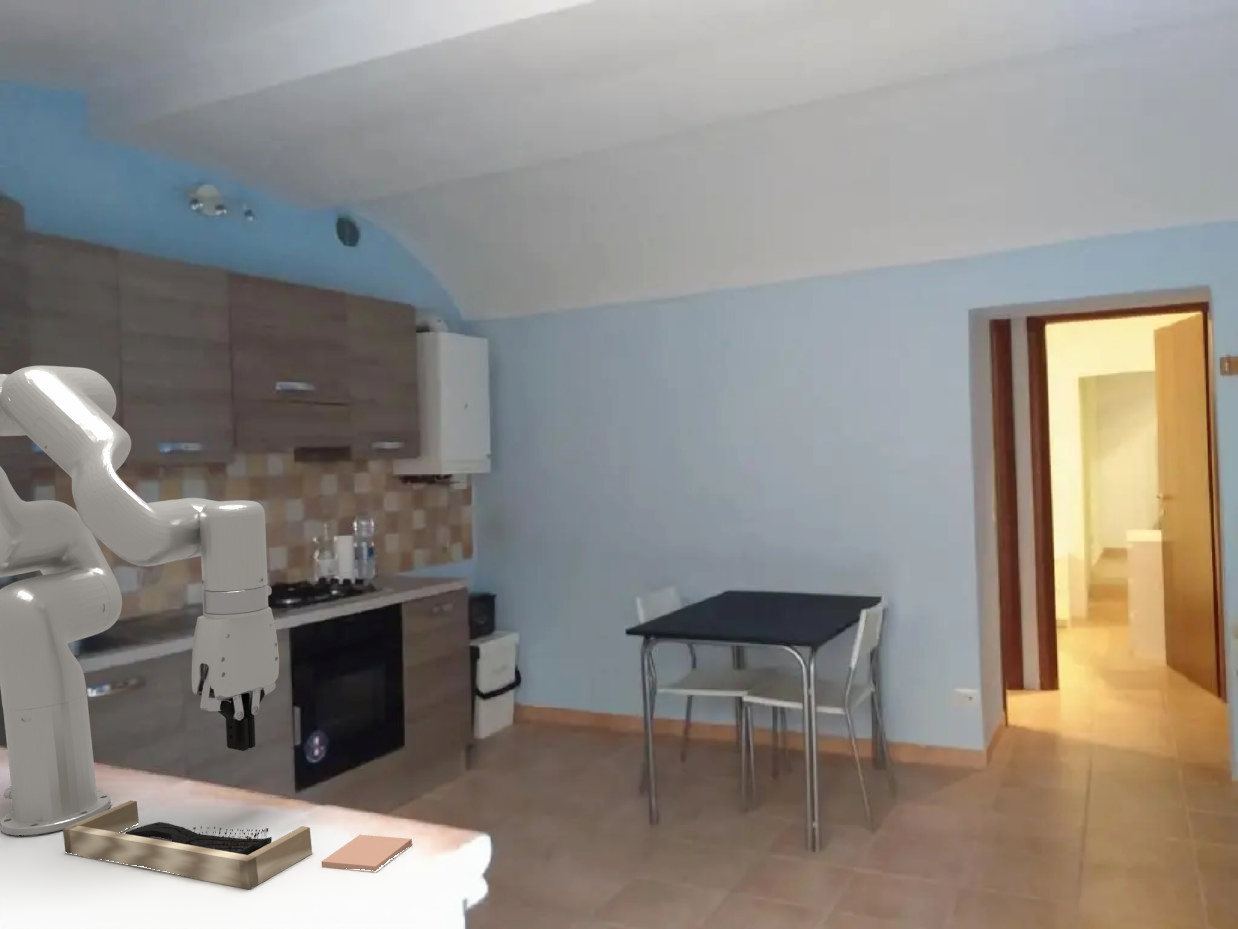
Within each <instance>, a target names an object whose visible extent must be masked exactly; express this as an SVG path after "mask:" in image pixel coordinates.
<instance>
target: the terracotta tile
mask: <svg viewBox="0 0 1238 929" xmlns="http://www.w3.org/2000/svg"><path fill="white" fill-rule="evenodd" d="M412 845H413V840H412V838H407V837H393V836H383V835H382V836H381V835H370V834H368V835H367V834H359V835H357V836H356V837H354V838H353V839H352V840H350V841H349V842H347V843H346V844H344V845H343V846H341V847H340V848H338V849H337V850H336V851H334V852H333V853H332V854H330V855H328V856H327V857H325V858H324V859H323V860H322V861H321V868H325V867H327V868H326V869H336V870H345V869H346V868H347V869H360V870H361V869H365V870H371V871H372V870H373V871H376V870H377V869H379V867H381V865H384V864H385V863H386V862H387V861H388V860H389V859H391V858H393V857H394V856H395V855H397V854H398V853H400V852H402V851H403V850H405V849H406V848H408V847H409V846H410V847H412ZM410 847H409V848H410ZM409 848H408V849H409ZM406 850H407V849H406ZM406 850H405V851H406ZM402 853H403V852H402Z"/></svg>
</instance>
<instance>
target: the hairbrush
mask: <svg viewBox="0 0 1238 929" xmlns="http://www.w3.org/2000/svg"><path fill="white" fill-rule="evenodd" d="M202 827H203V826H200V829H201V830H200V832H198V833H197V832H196V829H197V827H196V826H195V827H193V829H192V830H190V829H188V828H186V827H183V826H180V825H177V824H171V823H167V822H162V821H157V822H154V823H149V824H144V825H142V826H139V827H136V828H135V827H134V828H133V829H132V828H131V829H129V830H126V831H125V832H124V834H129V835H135V836H141V837H146V838H156V839H157V838H158V839H161V840H163V839H164V840H167V841H170V842H175V843H181V844H187V845H192V846H198V847H204V848H210V849H215V850H221V851H227V852H233V853H238V854H244V855H249V854H251V853H253V852H255V851H257V850H258V849H260V848H262V847H264V846H266V845H268V844H270V843H271V842H273V841H272V836H270V837H269V836H268V835H267V834H266V833H268V831H269V827H268V828H265V829H255V833H254V832H253V829H251V833H249V832H250V829H246V832H247V835H245V834H246V832H244V829H239V828H237V832H238V831H239V835H237V836H236V834H237V833H236V832H234V835H232V832H233V831H234V829H233V828H232V829H231V828H230V830H229V831H231V832H229V835H227V833H228V830H226V831H225V832H224V835H225V836H224V835H221V832H222V827H219V828H218V829H219V832H218V835H215V834H216V830H215V829H216V826H214V827H213V829H214V830H213V831H212V835H211V834H208V830H206V831H205V834H204V831H202ZM207 829H209V826H208V827H207ZM193 830H194V831H193ZM201 831H202V832H201ZM241 832H242V834H241ZM260 834H263V835H261V837H260V838H259V835H260ZM248 835H250V836H248ZM227 836H228V837H227ZM235 836H236V837H235ZM267 836H268V837H267Z"/></svg>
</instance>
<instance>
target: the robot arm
mask: <svg viewBox="0 0 1238 929" xmlns="http://www.w3.org/2000/svg"><path fill="white" fill-rule="evenodd" d="M113 388H114V387H112V385H111V383H110V382H109V380H108V379H106V377H104V376H103V375H102V374H100V373H99V372H97V371H95V370H92V369H89V368H87V367H85V368H84V367H79V366H77V367H76V366H62V365H61V366H58V365H57V366H56V365H32V366H27V367H22V368H20V369H18V370H14V372H11V373H10V374H9V373H6V374H4V373H0V437H17V436H18V437H21V436H27V437H28V438H29V440H31V441H32V442H33V443H34V444H36V446H37V447H39V448H40V449H41V450H42V451H43V452H44V453H45V454H46V455H47V456H48V457H49V458H50V459H52V461H53V462H54V463H55V464H57V465H58V466H59V467H60V468H61V469H62V470H63V471H64V472H65V473H66V475H68V476H69V477H70V478H71V492H72V498H73V502H74V504H75V508H76V509H75V508H73V507H72V506H70V505H68V504H67V503H65V502H62V501H60V500H59V501H58V500H54V499H51V500H50V499H49V500H48V499H40V500H32V501H26V500H23V499H21V497H20V496H19V495H18V493H16V491H15V489H14V488H13V486H12V484H11V483H10V480H9V478H8V475H7V474H6V471H4V469H3V468H2V466H1V465H0V578H6V577H10V576H17V575H21V574H28V573H31V572H37V571H40V573H41V574H42V575H38V576H34V577H28V578H24V579H22V580H21V579H20V580H17V581H14V582H12V583H9V584H8V585H5V586H4V587H1V589H0V695H1V697H0V698H1V704H2V705H1V706H2V710H3V712H2V713H3V720H4V721H3V722H4V730H5V739H6V750H7V757H8V758H7V760H8V767H9V776H10V778H9V779H10V787H7V788H6V789H5V790H4V791H3V797H4V798H5V799H8V800H11V806H12V809H11V810H10V811H9V812H8V813H6V814H5V815H4V816H3V817H2V818H1V820H0V829H1V831H2V833H5V834H6V835H9V834H10V835H11V836H19V835H22V836H21V837H23V835H24V836H34V834H36V835H43V834H49V833H53V832H57V831H63V828H65V827H68V826H70V825H73V824H75V823H77V822H80V821H82V820H85V819H87V818H89V817H92V816H94V815H97V814H99V813H101V812H104V811H106V810H109V809H110V807H111V805H112V798H111V795H110V794H109V793H108V792H104V791H102V790H97V783H96V773H95V772H96V771H95V763H94V752H93V743H92V742H93V740H92V732H91V723H90V722H91V721H90V713H89V712H90V711H89V704H88V703H89V702H88V694H87V685H86V679H85V674H84V671H83V668H82V665H80V662H79V661H78V659H77V658H76V656H75V655H74V654H73V652H72V651H71V649H70V647H69V645H68V644H70V643H72V642H76V641H79V640H83V639H86V638H89V637H92V636H95V635H99V634H100V633H104V632H105V631H107V630H109V629H110V628H111V627H112V626H114V625H115V624H116V622H117V621H118V620H119V617H120V616H121V613H122V606H123V597H122V592H121V588H120V586H119V584H118V583H119V582H118V581H117V578H116V577H115V575H114V573H113V570H112V568H111V567H110V565H109V563H108V560H107V559H106V557H105V556H104V553H103V551H102V549H101V547H100V545H99V544H98V542H97V540H96V538H97V539H98V540H99V541H100V542H101V543H102V544H104V545H105V547H106V548H108V549H109V550H110V551H111V552H113V554H115V555H116V556H117V557H119V558H120V559H122V560H123V561H126V562H127V563H129V564H132V565H135V566H139V567H153V566H159V565H163V564H167V563H171V562H175V561H182V560H186V559H187V560H188V559H191V558H192V559H193V558H197V557H200V559H201V560H200V561H201V583H202V584H201V585H202V586H201V587H202V588H201V590H202V591H201V592H202V614H203V615H199V616H197V620H196V624H195V628H194V633H193V641H192V643H193V644H192V653H191V654H192V656H191V690H192V693H193V695H195V696H197V697H201V699H200V706H199V707H200V710H201V711H207V712H218V713H219V714H220V717H221V718H225V731H226V732H225V733H226V746H227V748H228V749H231V750H236V751H241V752H245V751H248V750H249V749H252V748H255V747H256V724H255V715H257V714H258V713H259V711H260V704H261V702H262V700H263V699H264V697H265V696H267V695H268V694H270V693H271V692H272V691H274V690H275V689H276V687H277V685H276V680H277V679H278V678H279V671H280V657H279V645H278V642H279V641H278V637H277V635H278V634H277V630H276V624H275V619H274V615H273V611H272V608H271V607H270V606H269V596H271V595H272V593H273V592H272V591H273V590H272V587H271V585H268V562H267V561H268V560H267V559H268V558H267V533H266V513H265V509H264V507H263V505H262V504H261V503H259V502H257V501H255V500H243V499H241V500H223V501H221V500H220V501H218V500H211V499H206V498H202V497H201V498H200V497H187V498H179V499H167V500H161V501H154V502H152V501H151V502H148V503H147V502H146V501H144V500H143V499H142V498H141V497H140V496H139V495H138V494H136V493H135V491H133V490H132V489H131V488H130V487H129V486H128V485H127V484H126V483H125V482H124V481H123V480H122V479H121V478H120V476H119V475H118V473H117V471H118V470H119V469H120V467H121V466H122V465H123V464H124V463H125V461H126V459H127V458H128V457H129V455H130V452H131V449H132V440H131V437H130V435H129V433H128V432H127V430H125V429H124V428H123V427H122V426H121V425H120V424H118V423H117V422H116V421H115V420H114V419H113V416H114V415H115V413H116V410H117V409H116V408H117V396H116V393H115V391H114V389H113ZM95 537H96V538H95ZM10 835H9V836H10Z"/></svg>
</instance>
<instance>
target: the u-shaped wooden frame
mask: <svg viewBox="0 0 1238 929" xmlns="http://www.w3.org/2000/svg"><path fill="white" fill-rule="evenodd" d="M138 810H139V809H138V801H137V800H128V801H126V802H124V803H121V804H119V805H116V806H114V807H113V806H112V807H111V808H108V810H106V811H104V812H101V813H99V814H97V815H94V816H92V817H89V818H87V819H85V820H82V821H80V822H77V823H75V824H73V825H70V826H68V827H65V828H63V829H62V833H63V842H64V852H67V853H72V854H77V855H80V856H79V857H81V856H84V857H83V858H86V857H89V858H88V859H91V858H94V859H93V860H96V859H102V860H109V861H114V862H119V863H122V864H123V863H124V864H128V865H137V866H144V867H147V868H151V869H155V870H160V871H167V872H170V873H174V874H179V875H181V876H180V877H184V876H186V877H184V878H188V877H192V878H191V879H193V878H196V879H195V880H199V879H200V881H205V882H210V883H214V884H219V885H225V886H231V887H234V888H240V889H246V890H252V889H253V888H255V887H257V886H258V885H261V884H262V883H264V882H265V881H267V880H269V879H270V878H272V877H274V876H276V875H277V874H279V873H281V872H282V871H285V870H286V869H288V868H291V867H292V866H294V865H295V864H296V863H298V862H301V861H302V860H304V859H305V858H307V857H308V856H311V855H312V854H313V846H312V837H311V836H312V835H311V827H310V826H300V827H297V828H296V829H294V830H292V831H290V832H289V833H287V834H284V835H283V836H280V837H279V838H277V839H275V840H274V841H271V843H270V844H268V845H266V846H264V847H262V848H260V849H258V850H257V851H255V852H253V853H251V854H249V855H244V854H238V853H233V852H227V851H221V850H215V849H210V848H204V847H198V846H192V845H187V844H181V843H175V842H172V841H170V840H165V839H164V840H163V839H159V838H158V839H157V838H153V837H148V838H146V837H141V836H135V835H129V834H125V833H124V832H122V833H119V832H121V831H123V830H125V829H126V828H130V827H132V826H133V825H136V824H137V823H139V824H140V822H139V821H140V820H139V811H138ZM102 860H101V861H102ZM122 864H121V865H122Z"/></svg>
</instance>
